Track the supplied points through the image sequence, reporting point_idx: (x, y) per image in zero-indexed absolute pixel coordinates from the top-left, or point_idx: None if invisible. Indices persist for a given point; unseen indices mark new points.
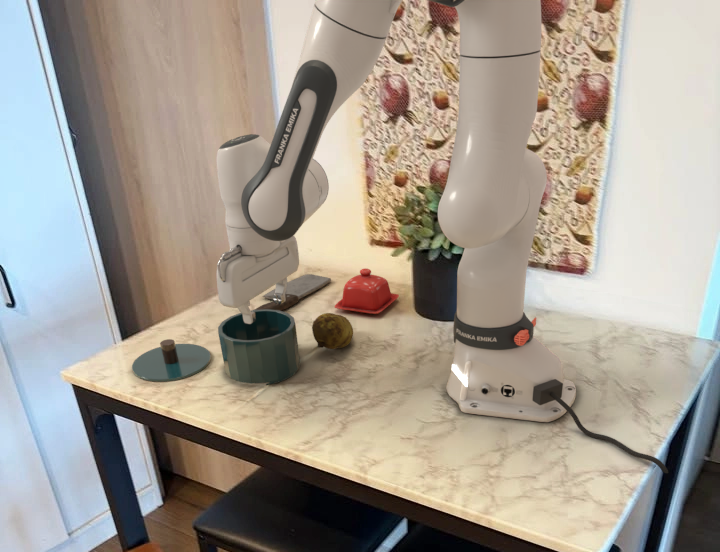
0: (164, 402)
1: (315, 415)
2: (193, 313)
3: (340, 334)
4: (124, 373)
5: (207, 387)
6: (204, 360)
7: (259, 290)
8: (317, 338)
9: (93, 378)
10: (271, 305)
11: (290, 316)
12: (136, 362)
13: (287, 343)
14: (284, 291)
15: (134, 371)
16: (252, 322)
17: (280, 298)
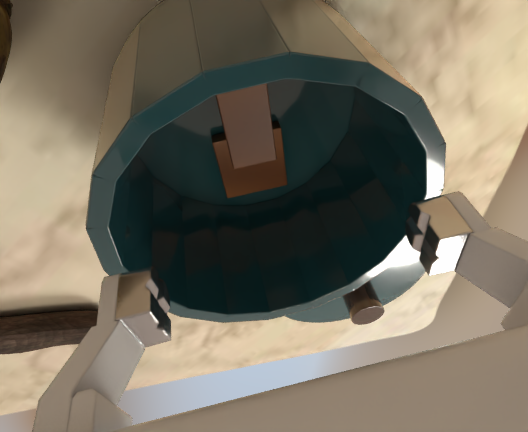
0: (499, 164)
1: None
2: (159, 379)
3: None
4: None
5: None
6: None
7: (502, 373)
8: (4, 17)
9: (434, 302)
10: (2, 342)
11: (99, 194)
12: (382, 302)
13: (255, 29)
14: (98, 333)
15: (414, 282)
16: (445, 194)
17: (151, 294)
